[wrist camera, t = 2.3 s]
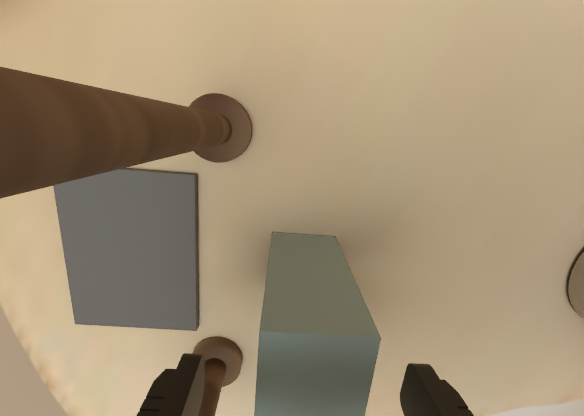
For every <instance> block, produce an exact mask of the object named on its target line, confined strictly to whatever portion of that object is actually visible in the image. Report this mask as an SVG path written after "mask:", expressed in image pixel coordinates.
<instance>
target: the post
mask: <svg viewBox="0 0 584 416" xmlns="http://www.w3.org/2000/svg"><path fill="white" fill-rule="evenodd" d="M251 136H252V124H251V120H250V117H249V115H248V113H247V111H246V110H245V109H244V107H243V106H242V105H241V104H240V103H238V102H237V101H235V100H234V99H232V98H230V97H228V96H226V95H222V94H216V93H212V94H206V95H203V96H201V97H199V98H197V99H196V100H195V101H193V102H192V103H191V105H190V106H189V107H186V106H181V105H176V104H172V103H167V102H162V101H158V100H153V99H148V98H144V97H139V96H134V95H130V94H125V93H120V92H116V91H111V90H106V89H102V88H97V87H92V86H88V85H83V84H78V83H74V82H69V81H64V80H60V79H55V78H50V77H46V76H41V75H36V74H32V73H27V72H22V71H18V70H13V69H8V68H4V67H0V198H4V197H8V196H12V195H16V194H20V193H24V192H28V191H32V190H36V189H40V188H44V187H49V186H53V185H57V184H61V183H65V182H69V181H73V180H77V179H81V178H85V177H89V176H93V175H97V174H101V173H105V172H109V171H113V170H118V169H122V168H126V167H130V166H134V165H138V164H142V163H146V162H150V161H154V160H158V159H162V158H166V157H170V156H174V155H178V154H182V153H187V152H191V151H194V152H195V153H196V154H197V155H199V156H200V157H202V158H204V159H206V160H208V161H212V162H227V161H230V160H232V159H234V158H236V157H238V156H239V155H241V154H242V153H243V152H244V151H245V150H246V148H247V147H248V145H249V143H250V140H251Z"/></svg>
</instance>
